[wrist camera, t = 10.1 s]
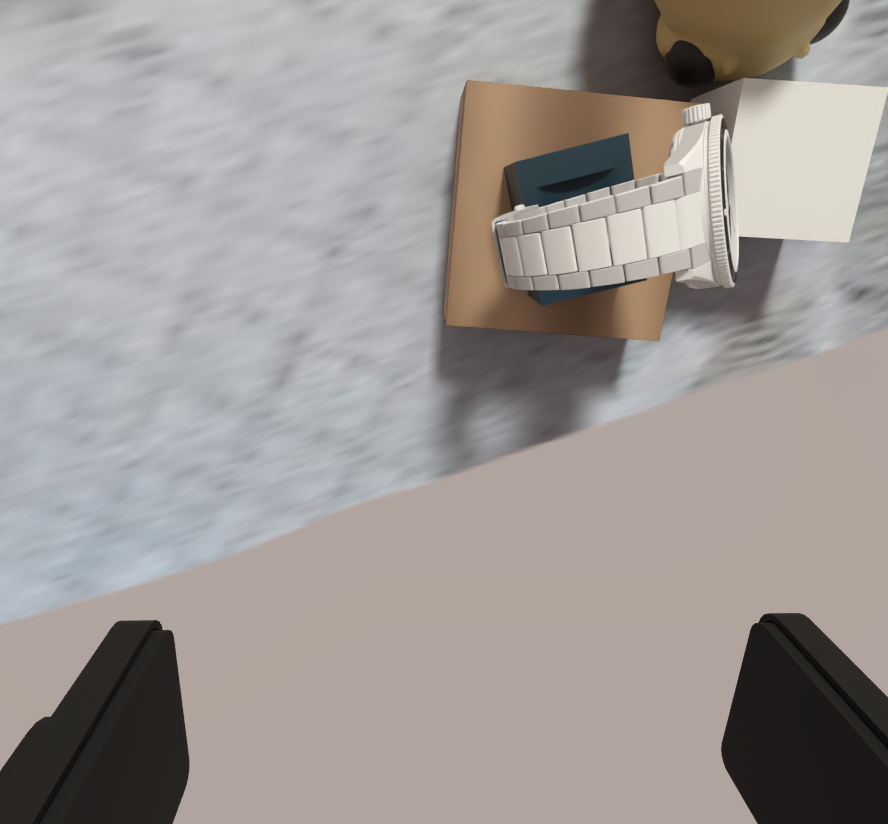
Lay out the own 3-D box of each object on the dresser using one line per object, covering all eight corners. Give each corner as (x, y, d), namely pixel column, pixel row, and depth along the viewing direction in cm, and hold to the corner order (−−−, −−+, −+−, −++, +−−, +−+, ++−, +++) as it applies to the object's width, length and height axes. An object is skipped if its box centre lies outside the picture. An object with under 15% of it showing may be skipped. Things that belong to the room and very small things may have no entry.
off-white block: (668, 230, 30) (714, 234, 26) (690, 99, 28) (744, 77, 24) (782, 237, 31) (848, 242, 26) (811, 107, 29) (889, 87, 24)
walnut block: (443, 310, 31) (446, 325, 27) (460, 97, 28) (467, 80, 24) (630, 325, 32) (659, 341, 28) (669, 118, 28) (707, 104, 25)
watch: (665, 261, 27) (821, 295, 16) (490, 304, 27) (533, 365, 17) (649, 127, 25) (814, 69, 14) (462, 175, 25) (491, 152, 15)
